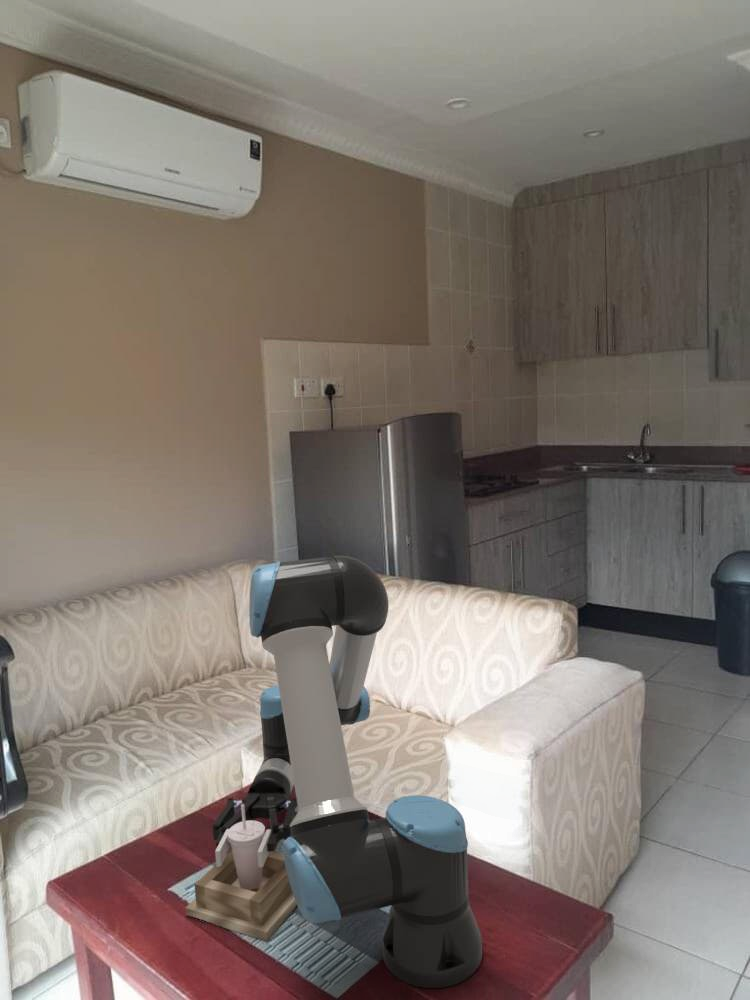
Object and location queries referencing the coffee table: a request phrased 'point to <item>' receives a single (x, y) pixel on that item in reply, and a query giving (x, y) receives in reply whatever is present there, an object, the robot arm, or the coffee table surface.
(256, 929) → the wooden box
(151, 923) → the coffee table surface
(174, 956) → the coffee table surface
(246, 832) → the smoothie
